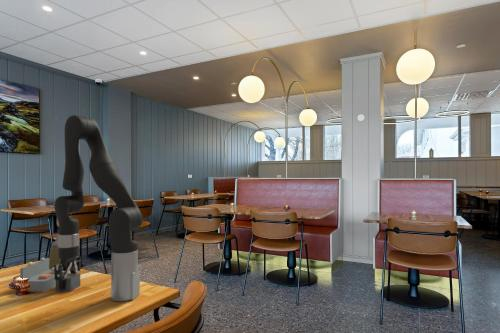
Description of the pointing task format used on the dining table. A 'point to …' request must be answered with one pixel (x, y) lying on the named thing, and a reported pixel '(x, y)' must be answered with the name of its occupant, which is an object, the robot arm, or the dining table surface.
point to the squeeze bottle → (54, 254)
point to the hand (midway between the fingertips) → (68, 286)
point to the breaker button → (45, 276)
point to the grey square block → (70, 282)
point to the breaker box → (35, 271)
